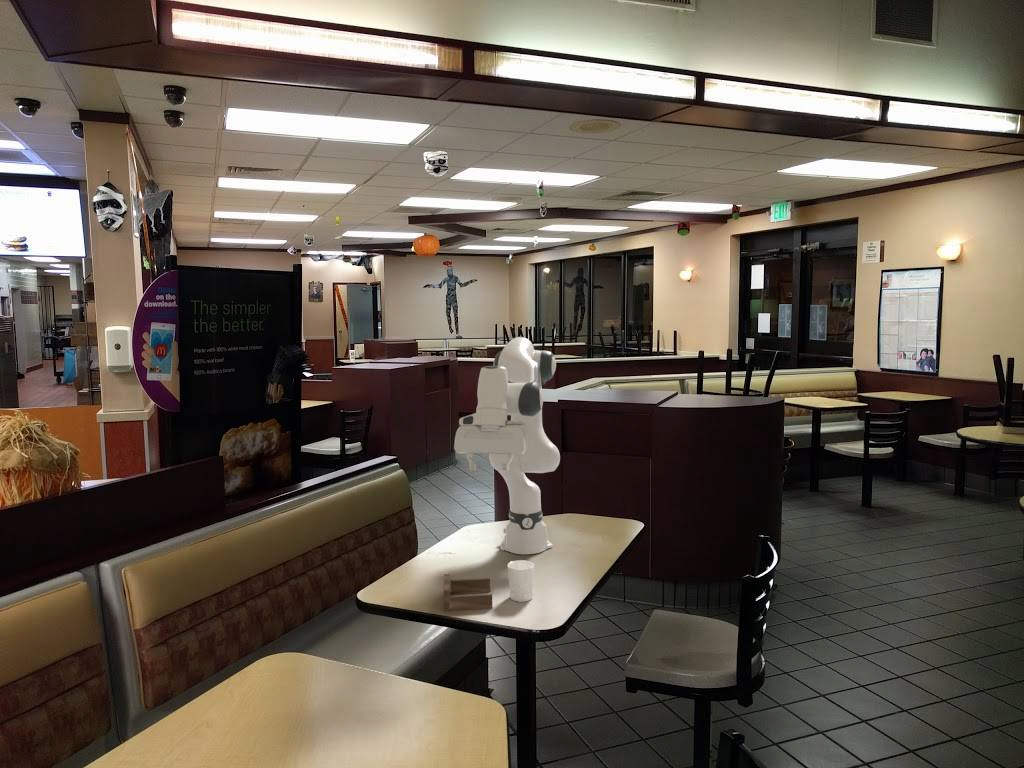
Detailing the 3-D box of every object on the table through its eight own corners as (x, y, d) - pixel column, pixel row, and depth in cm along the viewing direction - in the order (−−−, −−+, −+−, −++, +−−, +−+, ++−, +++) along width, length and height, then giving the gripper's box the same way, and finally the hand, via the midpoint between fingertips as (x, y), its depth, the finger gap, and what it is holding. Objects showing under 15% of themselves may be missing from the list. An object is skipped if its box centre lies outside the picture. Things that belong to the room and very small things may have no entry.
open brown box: (445, 593, 206) (444, 573, 205) (490, 590, 207) (489, 571, 206) (444, 611, 193) (443, 590, 192) (492, 608, 194) (491, 587, 193)
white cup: (532, 603, 196) (531, 570, 195) (505, 602, 198) (504, 568, 197) (536, 592, 204) (536, 560, 203) (511, 591, 206) (510, 559, 205)
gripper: (529, 422, 192) (527, 471, 189) (460, 422, 196) (457, 470, 193) (525, 419, 186) (523, 469, 183) (453, 418, 190) (450, 468, 187)
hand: (488, 470), depth 188 cm, fingers open, 8 cm apart
